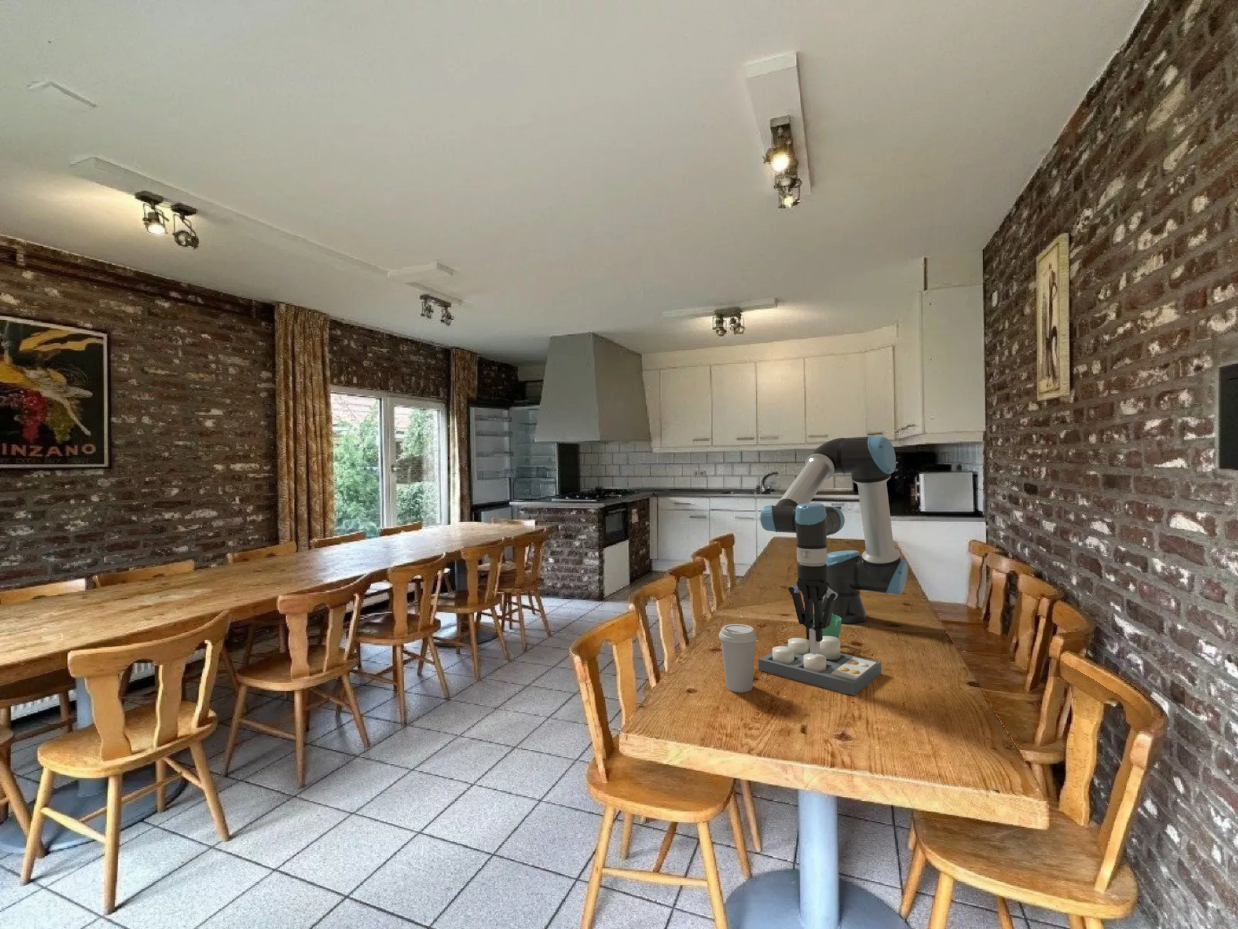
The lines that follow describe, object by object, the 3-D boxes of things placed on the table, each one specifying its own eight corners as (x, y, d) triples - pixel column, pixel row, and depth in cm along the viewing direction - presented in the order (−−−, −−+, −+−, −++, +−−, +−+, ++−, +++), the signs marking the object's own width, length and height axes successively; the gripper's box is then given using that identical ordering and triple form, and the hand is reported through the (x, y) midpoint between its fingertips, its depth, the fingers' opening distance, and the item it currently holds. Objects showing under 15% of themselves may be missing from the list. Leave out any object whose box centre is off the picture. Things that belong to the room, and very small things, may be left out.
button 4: (824, 650, 160) (823, 634, 160) (843, 655, 156) (843, 638, 156) (815, 656, 156) (814, 639, 156) (835, 660, 152) (834, 644, 152)
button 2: (794, 651, 166) (793, 636, 166) (812, 656, 162) (812, 640, 162) (784, 657, 162) (784, 641, 162) (803, 661, 158) (803, 645, 158)
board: (790, 652, 169) (789, 639, 169) (881, 673, 151) (881, 659, 151) (758, 670, 156) (758, 657, 156) (854, 695, 138) (854, 681, 138)
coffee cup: (713, 684, 148) (711, 626, 147) (743, 677, 152) (742, 621, 151) (734, 698, 139) (732, 636, 139) (766, 690, 143) (764, 630, 142)
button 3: (809, 668, 153) (809, 651, 153) (830, 673, 150) (829, 656, 150) (800, 674, 149) (799, 657, 149) (820, 680, 146) (820, 662, 145)
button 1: (779, 660, 160) (778, 644, 160) (797, 665, 156) (797, 649, 156) (769, 666, 156) (768, 650, 156) (788, 671, 152) (787, 654, 152)
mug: (839, 659, 162) (838, 624, 162) (803, 654, 167) (802, 620, 167) (847, 643, 174) (846, 611, 174) (814, 639, 179) (813, 607, 179)
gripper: (782, 562, 151) (785, 651, 151) (830, 568, 142) (833, 662, 142) (795, 558, 156) (798, 643, 157) (842, 563, 147) (845, 654, 148)
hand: (814, 652), depth 150 cm, fingers closed
